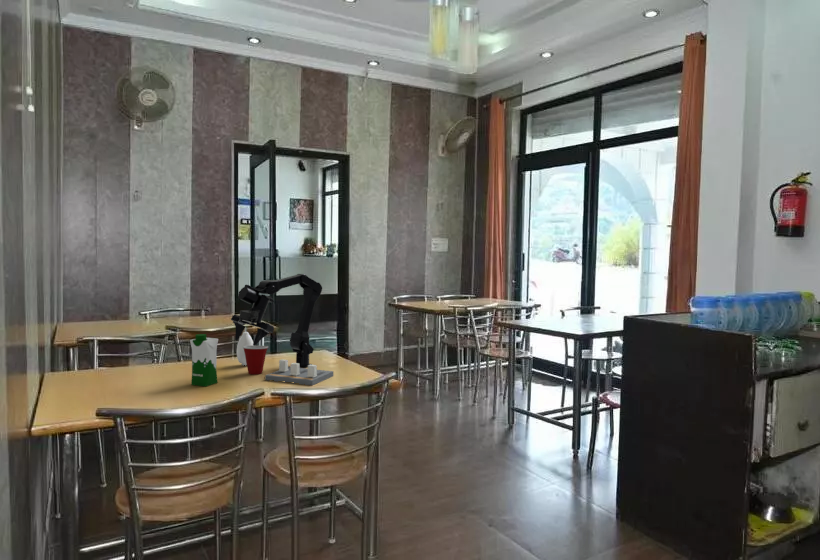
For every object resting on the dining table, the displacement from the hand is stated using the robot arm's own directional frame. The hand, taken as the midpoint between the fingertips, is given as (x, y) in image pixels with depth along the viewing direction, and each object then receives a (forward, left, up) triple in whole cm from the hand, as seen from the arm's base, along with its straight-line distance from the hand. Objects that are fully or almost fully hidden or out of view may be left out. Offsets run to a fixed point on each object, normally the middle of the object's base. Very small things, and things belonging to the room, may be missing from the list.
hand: (244, 342), depth 236 cm
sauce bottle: (-19, -13, -15) cm, 27 cm away
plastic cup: (-8, 0, -15) cm, 16 cm away
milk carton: (+16, -7, -15) cm, 23 cm away
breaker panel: (-8, +22, -14) cm, 27 cm away
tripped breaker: (-8, +14, -12) cm, 20 cm away
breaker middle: (-4, +22, -12) cm, 25 cm away
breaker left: (-4, +30, -12) cm, 33 cm away
